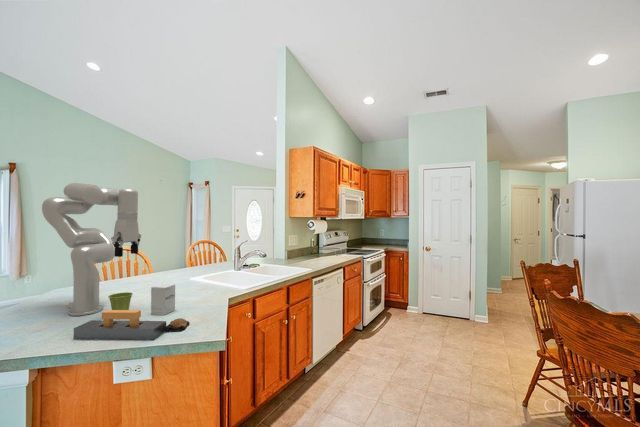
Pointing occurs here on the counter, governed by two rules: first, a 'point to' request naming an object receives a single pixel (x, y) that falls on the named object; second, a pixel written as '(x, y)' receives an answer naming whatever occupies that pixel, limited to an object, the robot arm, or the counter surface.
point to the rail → (120, 330)
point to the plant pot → (120, 301)
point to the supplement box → (162, 299)
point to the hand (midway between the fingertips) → (126, 255)
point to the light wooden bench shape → (121, 317)
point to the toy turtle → (177, 325)
